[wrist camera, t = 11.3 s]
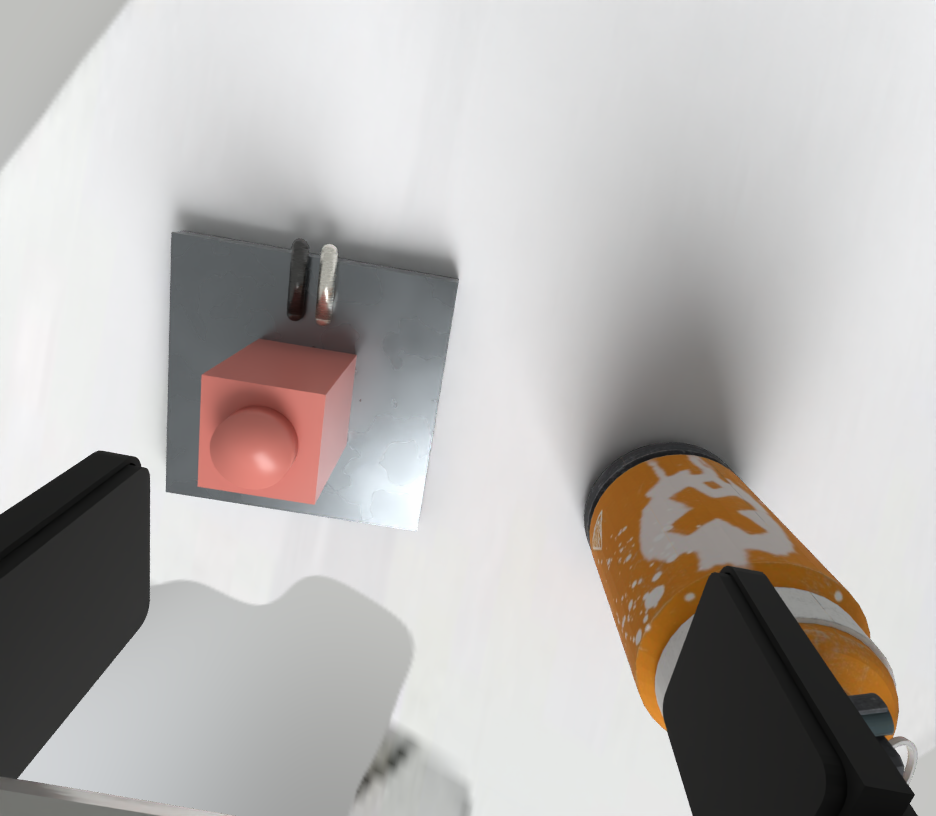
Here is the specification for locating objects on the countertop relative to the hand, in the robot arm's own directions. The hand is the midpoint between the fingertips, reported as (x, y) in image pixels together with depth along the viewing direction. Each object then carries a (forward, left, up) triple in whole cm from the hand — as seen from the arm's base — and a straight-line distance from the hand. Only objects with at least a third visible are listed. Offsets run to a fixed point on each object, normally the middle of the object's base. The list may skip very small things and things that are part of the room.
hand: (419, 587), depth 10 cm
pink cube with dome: (+5, -7, -22) cm, 24 cm away
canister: (+10, +14, -24) cm, 29 cm away
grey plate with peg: (+5, -7, -24) cm, 25 cm away
